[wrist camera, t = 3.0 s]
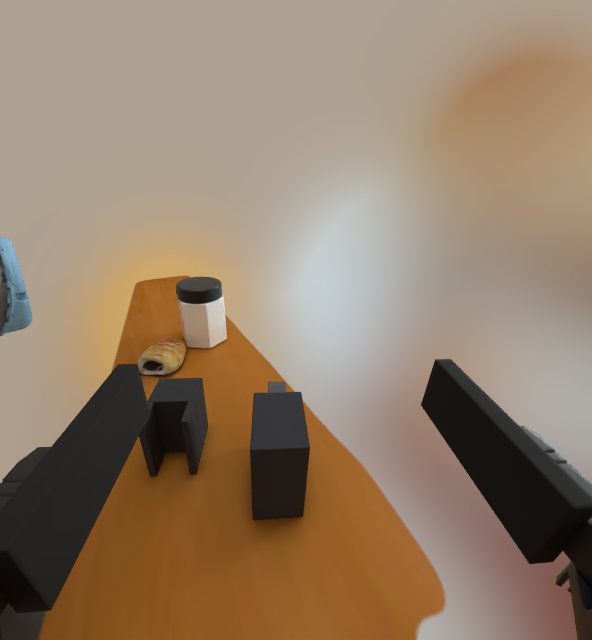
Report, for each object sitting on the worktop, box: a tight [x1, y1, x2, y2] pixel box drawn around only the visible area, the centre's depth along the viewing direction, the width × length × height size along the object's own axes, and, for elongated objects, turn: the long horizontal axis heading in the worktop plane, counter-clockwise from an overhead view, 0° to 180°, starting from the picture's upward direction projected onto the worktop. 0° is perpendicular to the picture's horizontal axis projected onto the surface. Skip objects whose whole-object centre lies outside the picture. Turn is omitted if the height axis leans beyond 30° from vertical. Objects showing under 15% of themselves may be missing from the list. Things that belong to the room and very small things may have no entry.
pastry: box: [138, 339, 186, 375], centre depth 50 cm, size 9×7×4 cm
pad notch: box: [139, 378, 208, 476], centre depth 33 cm, size 7×5×8 cm
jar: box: [176, 277, 227, 349], centre depth 56 cm, size 9×8×12 cm
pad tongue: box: [250, 382, 310, 520], centre depth 30 cm, size 10×5×10 cm, turn 5°
